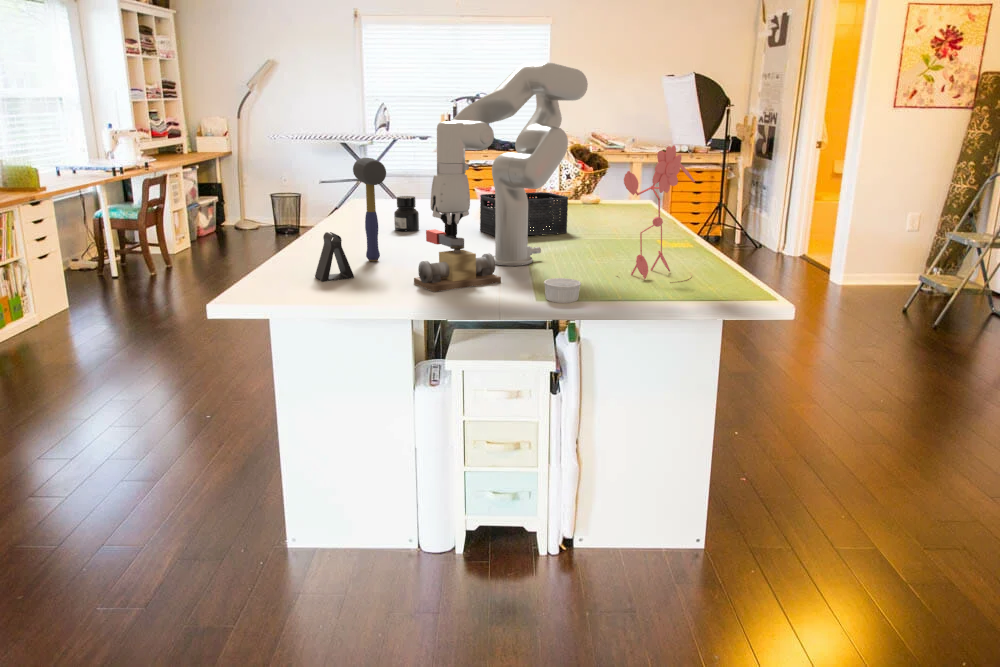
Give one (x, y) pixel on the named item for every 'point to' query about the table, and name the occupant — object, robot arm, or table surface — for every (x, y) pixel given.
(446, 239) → the lever
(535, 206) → the storage bin
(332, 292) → the table surface
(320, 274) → the phone stand
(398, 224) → the ink bottle
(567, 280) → the ramekin
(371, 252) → the rubber mallet
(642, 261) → the figurine
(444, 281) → the valve manifold
